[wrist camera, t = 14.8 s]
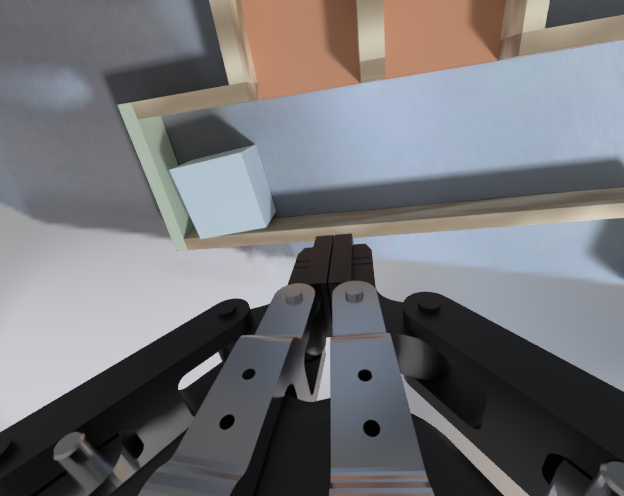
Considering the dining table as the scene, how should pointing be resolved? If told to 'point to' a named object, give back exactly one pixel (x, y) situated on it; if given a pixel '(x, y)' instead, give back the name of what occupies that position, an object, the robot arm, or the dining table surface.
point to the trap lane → (354, 70)
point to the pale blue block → (225, 192)
